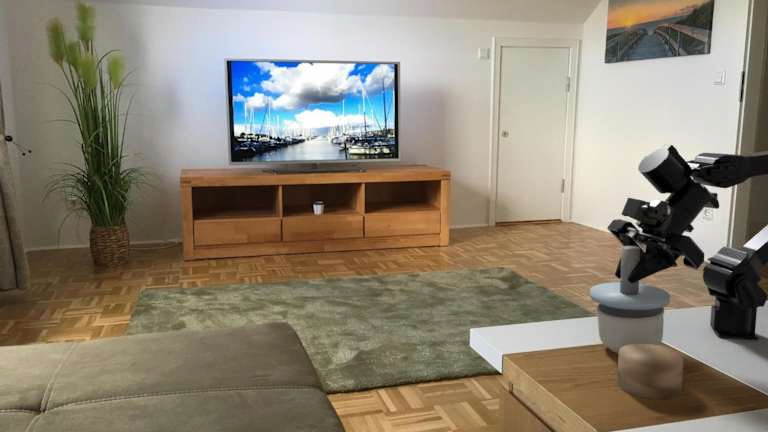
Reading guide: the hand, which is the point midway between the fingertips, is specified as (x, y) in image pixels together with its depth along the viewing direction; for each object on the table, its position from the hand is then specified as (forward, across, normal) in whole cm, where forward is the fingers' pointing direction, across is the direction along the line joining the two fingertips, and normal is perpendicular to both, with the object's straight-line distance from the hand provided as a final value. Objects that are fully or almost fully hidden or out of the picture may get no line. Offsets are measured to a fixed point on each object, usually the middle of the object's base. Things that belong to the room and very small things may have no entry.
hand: (623, 279), depth 110 cm
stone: (+13, +14, +5) cm, 20 cm away
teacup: (+8, 0, +10) cm, 13 cm away
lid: (+2, 0, +4) cm, 4 cm away
